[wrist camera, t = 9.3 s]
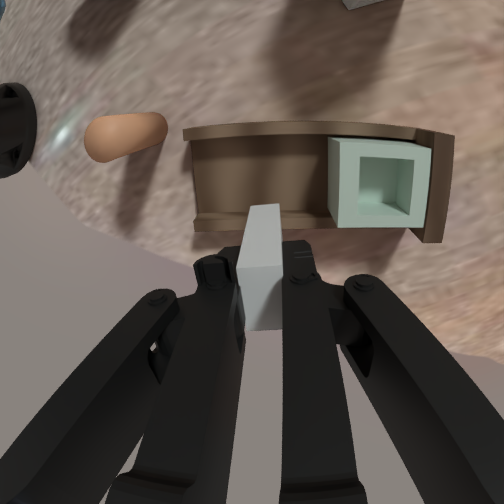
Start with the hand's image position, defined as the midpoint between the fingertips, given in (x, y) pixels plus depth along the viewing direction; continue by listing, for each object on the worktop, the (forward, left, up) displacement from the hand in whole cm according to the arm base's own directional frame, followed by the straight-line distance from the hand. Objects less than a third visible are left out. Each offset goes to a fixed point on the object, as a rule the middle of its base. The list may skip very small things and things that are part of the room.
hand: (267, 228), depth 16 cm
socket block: (+11, 0, -16) cm, 19 cm away
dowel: (-13, +6, -18) cm, 23 cm away
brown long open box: (+5, 0, -18) cm, 19 cm away
